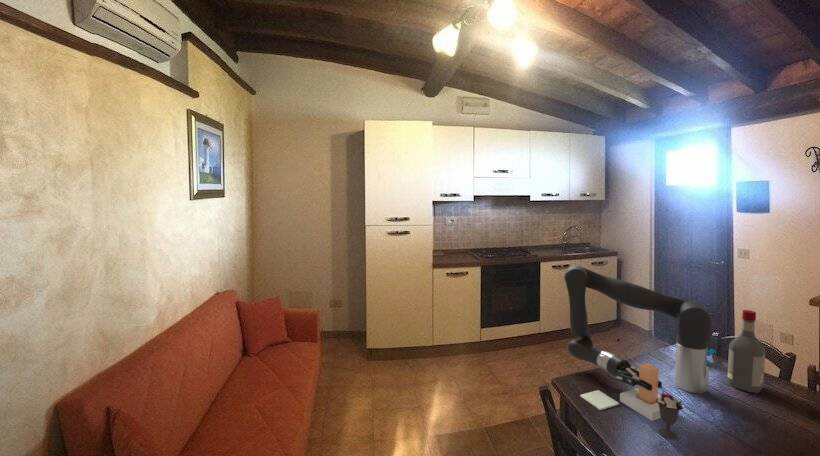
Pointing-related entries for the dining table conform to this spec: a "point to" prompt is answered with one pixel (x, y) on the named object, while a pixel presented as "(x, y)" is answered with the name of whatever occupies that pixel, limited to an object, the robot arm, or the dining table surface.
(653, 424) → the dining table surface
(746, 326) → the liquor
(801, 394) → the dining table surface
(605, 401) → the pad
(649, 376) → the peg
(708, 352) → the gear
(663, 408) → the sundae
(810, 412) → the dining table surface
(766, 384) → the dining table surface
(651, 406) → the socket block
